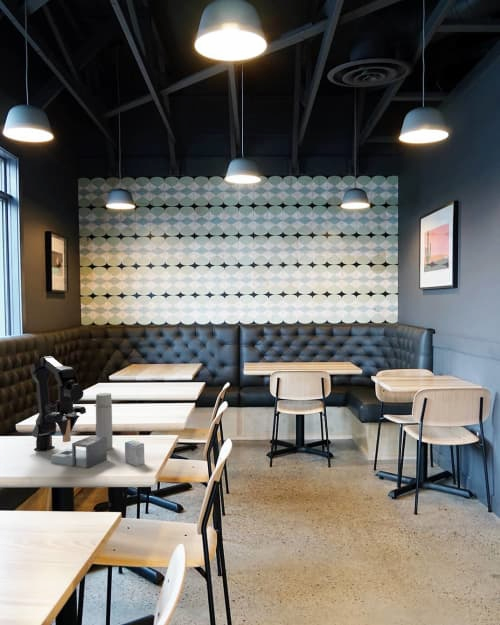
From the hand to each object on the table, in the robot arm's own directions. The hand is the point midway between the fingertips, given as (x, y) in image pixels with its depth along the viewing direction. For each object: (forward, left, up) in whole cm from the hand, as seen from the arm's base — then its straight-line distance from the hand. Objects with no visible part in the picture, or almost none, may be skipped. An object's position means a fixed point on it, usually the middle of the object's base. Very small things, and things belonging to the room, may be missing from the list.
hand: (66, 434), depth 211 cm
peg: (0, 0, -3) cm, 3 cm away
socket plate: (0, +6, -11) cm, 12 cm away
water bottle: (-19, +4, -11) cm, 23 cm away
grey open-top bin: (0, +12, -11) cm, 16 cm away
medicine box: (-6, +30, -11) cm, 33 cm away
